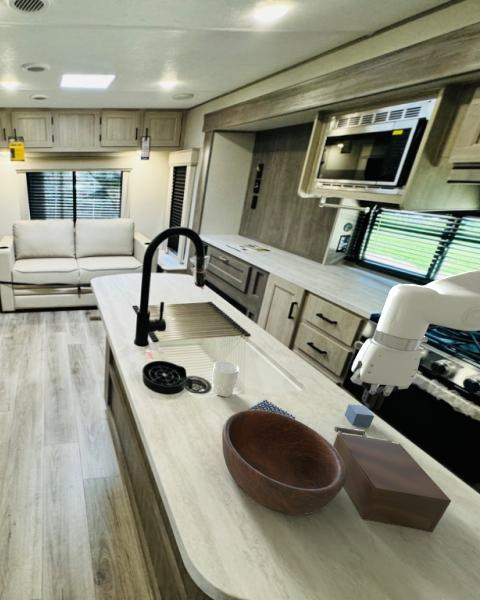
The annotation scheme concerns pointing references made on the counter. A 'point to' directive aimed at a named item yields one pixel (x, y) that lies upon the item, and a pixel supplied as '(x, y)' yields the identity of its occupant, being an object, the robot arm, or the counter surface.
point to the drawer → (353, 431)
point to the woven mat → (270, 408)
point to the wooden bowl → (281, 461)
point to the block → (359, 415)
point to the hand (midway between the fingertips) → (370, 404)
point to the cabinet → (390, 484)
